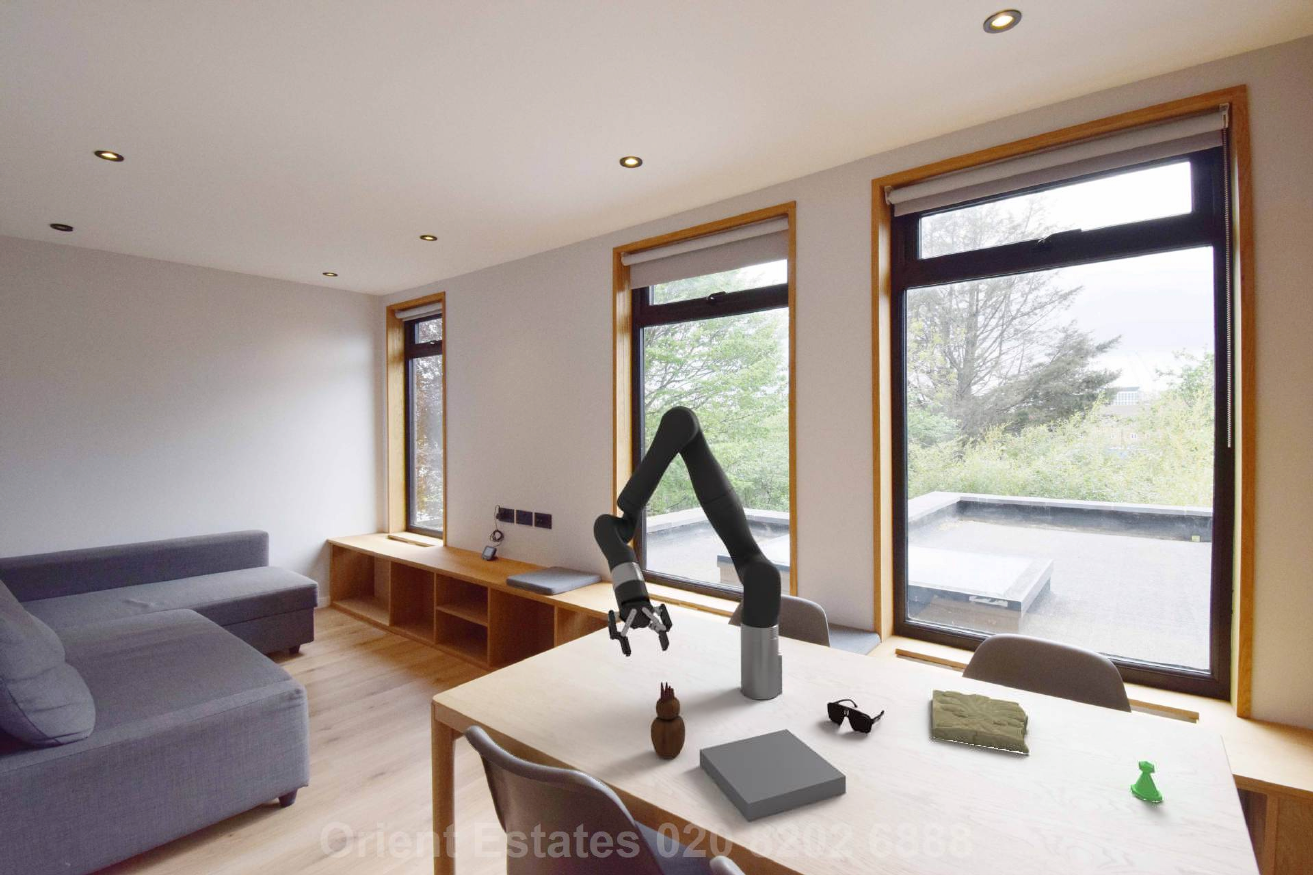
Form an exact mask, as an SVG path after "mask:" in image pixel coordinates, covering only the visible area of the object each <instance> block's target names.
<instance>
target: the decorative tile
mask: <svg viewBox="0 0 1313 875" xmlns="http://www.w3.org/2000/svg"><path fill="white" fill-rule="evenodd" d="M931 707H932V711H931V712H932V714H931V715H932V717H931V718H932V736H934V737H935V738H934V737H933V738H934V739H936V738H941V739H944V740H943V741H946V740H953V741H957V742H963V743H968V744H967V745H969V744H974V745H973V746H975V745H981V746H986V747H994V748H998V749H1006V750H1009V751H1019V752H1023V753H1028V754H1029V753H1030V750H1029V749H1030V748H1029V747H1028V744H1026V743H1025V740H1024V738H1025V739H1026V737H1025V735H1026V734H1027V733H1026V732H1028V731H1027V727H1028V722H1029V721H1028V720H1029V716H1028V715H1027V714H1026V711H1025V710H1024V709H1023V708H1022V707H1021V706H1020V703H1019V702H1016V701H1010V700H1003V699H997V698H990V697H989V696H987V695H983V694H982V695H981V694H977V693H971V694H965V693H962V692H960V691H959V692H958V691H953V690H946V691H943V690H939V689H933V690H932V706H931ZM1025 733H1026V734H1025ZM941 739H940V740H941ZM957 742H956V743H957ZM963 743H962V744H963Z"/></svg>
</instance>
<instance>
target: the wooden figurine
mask: <svg viewBox="0 0 1313 875" xmlns="http://www.w3.org/2000/svg"><path fill="white" fill-rule="evenodd" d="M680 712H681V702H680V699H678V698H677V697H676V696H675V689H674V688H672V687H671V685H669V684H668V681H666V682H665V686H664V683H663V681H662V682H660V696H659V698H658V699H657V700H656V703H655V713H656V717H655V718H654V719H653V721H652V724H651V725H650V739H651V744H652V747H653V749H654V751H655V754H656V755H657V756H658V757H659V758H661V759H672V758H675V757H678V756H679V755H680V753H681V751H682V750H683V748H684V746H685V741H686V724H685V721H684V718H683V717H682V716H681V715H680Z"/></svg>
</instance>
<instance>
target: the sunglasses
mask: <svg viewBox="0 0 1313 875" xmlns="http://www.w3.org/2000/svg"><path fill="white" fill-rule="evenodd" d="M847 701H848V702H851V703H852V704H853V705H854V708H853V707H850V706H846V705H843V704H840V703H841V702H847ZM858 707H859V706H858V705H857V704H856V703H855V702H854V701H853V700H852V699H850V698H849V699H848V698H845V699H844V698H843V699H839V700H835V701H834V702H828V703H826V708H827V715H828V718H829V720H830V721H831V722H832V723H834V724H835V725H837V726H839V727H841V725H842V724H843V722H844V720H845V718H847V719H848V723H849V725H850V727H851V730H852V731H853V732H855V733H856V732H857V733H861V732H862V734H865V733H866V735H867V734H869V733H871V731H872V728H873V725H875V723H877V722H879V721H880V720H881V717H882V716H883V715H884V714H885V710H884V709H883V710H881V712H880V713H879V714H878V715H876V716H874V717H873V718H872V717H871V715H869V714H867V713H864V712H862V711H860V710H858V709H856V708H858Z"/></svg>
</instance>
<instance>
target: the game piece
mask: <svg viewBox="0 0 1313 875" xmlns="http://www.w3.org/2000/svg"><path fill="white" fill-rule="evenodd" d="M1137 763H1138V770H1140V771H1142V772H1141V774H1140V775H1139V777H1138V779H1137V781H1136V782H1135V783H1134V784H1130V790H1132V791H1131V793H1132V792H1133V793H1132V795H1133V794H1135V795H1137V796H1138V797H1137V796H1136V797H1137V798H1139V797H1140V798H1139V799H1141V798H1142V799H1146V800H1149V801H1148V802H1150V801H1155V802H1156V801H1160V802H1162V801H1163V795H1162V793H1161V792H1160V790H1158V789H1157V786H1156V784H1155V782H1154V780H1153V778H1152V775H1151V774H1155V773H1156V770H1155V765H1154V764H1152V763H1151V762H1149V761H1147V760H1145V761H1143V760H1142V761H1138V762H1137ZM1135 795H1134V796H1135ZM1142 799H1141V800H1142ZM1146 800H1145V801H1146ZM1161 800H1162V801H1161ZM1155 802H1154V803H1155ZM1156 803H1157V802H1156Z"/></svg>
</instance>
